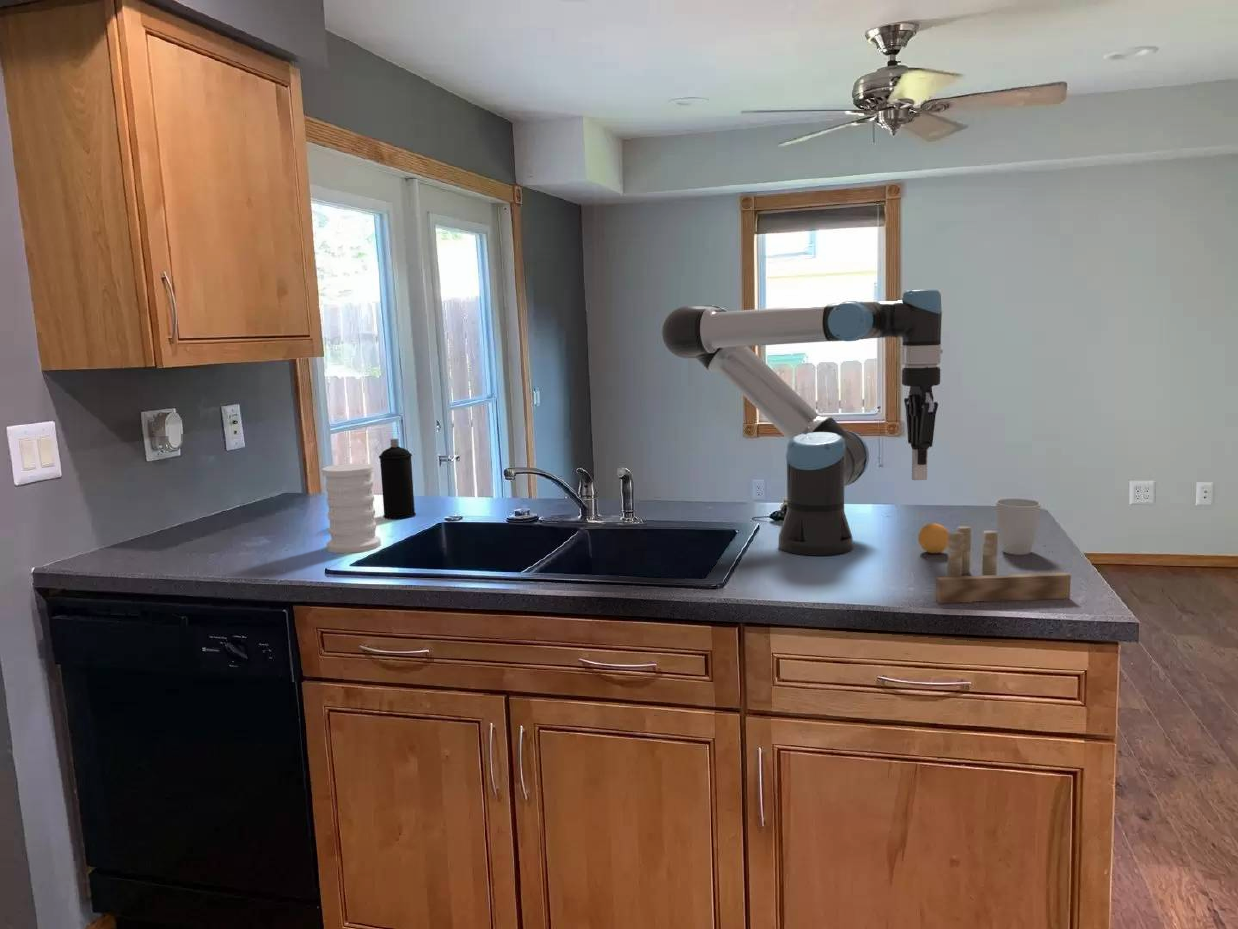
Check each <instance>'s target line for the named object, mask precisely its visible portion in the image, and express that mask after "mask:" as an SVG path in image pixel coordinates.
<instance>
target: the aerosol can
mask: <svg viewBox="0 0 1238 929" xmlns="http://www.w3.org/2000/svg"><path fill="white" fill-rule="evenodd" d="M389 440H390V447H389V448H386V449H385V450H383V451H382V452H381V454H380V455H379V456H378V458H379V462H380V464H379V465H380V473H381V474H380V477H381V488H382V489H381V491H382V505H383V516H382V517H383V518H384V519H387V520H403V519H405V520H406V519H410V518H413V517H415V516H416V514H417V513H416V512H415V510H416V508H415V496H414V495H415V494H414V481H413V465H412V456H413V454H412V453H410V451H409V450H408V449H406V448H404V447H400V444H399V443H400V442H399V438H390V439H389Z"/></svg>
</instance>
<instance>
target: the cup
mask: <svg viewBox="0 0 1238 929" xmlns="http://www.w3.org/2000/svg"><path fill="white" fill-rule="evenodd" d="M995 503H996V507H995V510H996V526H997V532H998V541H999V543H1000V545H1001V550H1002V553H1003V552H1004V553H1006V554H1010V555H1018V556H1019V555H1020V556H1021V555H1029V554H1030V553H1031V551H1032V548H1033V546H1034V543H1035V542H1036V536H1037V534H1038V533H1037V532H1038V527H1039V522H1040V513H1041V502H1039V501H1036V500H1033V499H1026V498H1002V499H997V500H996V501H995Z"/></svg>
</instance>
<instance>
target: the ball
mask: <svg viewBox="0 0 1238 929" xmlns="http://www.w3.org/2000/svg"><path fill="white" fill-rule="evenodd" d="M948 534H949V531H948V529H947V528H946V527H945V526H944V525H942V524H939V523H935V522H933V523H928V524H925V525H924V526H923V527H921V529H920V531H919V532H918V536H917V538H918V543H919V546H920V547H921V548H922V549H923V550H924V551H926V552H927V553H930V554H939V553H941V552H943V551H945V550H946V549H948Z"/></svg>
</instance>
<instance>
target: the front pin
mask: <svg viewBox="0 0 1238 929" xmlns="http://www.w3.org/2000/svg"><path fill="white" fill-rule="evenodd" d="M956 532H960V533H963V542H962V575H969V574H970V573H971V546H972V545H971V544H972V543H971V540H972V527H970V526H965V525H963V526H961V525H959V526H957V528H956Z"/></svg>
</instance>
